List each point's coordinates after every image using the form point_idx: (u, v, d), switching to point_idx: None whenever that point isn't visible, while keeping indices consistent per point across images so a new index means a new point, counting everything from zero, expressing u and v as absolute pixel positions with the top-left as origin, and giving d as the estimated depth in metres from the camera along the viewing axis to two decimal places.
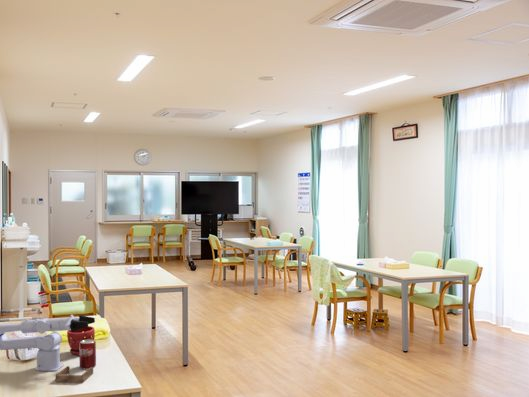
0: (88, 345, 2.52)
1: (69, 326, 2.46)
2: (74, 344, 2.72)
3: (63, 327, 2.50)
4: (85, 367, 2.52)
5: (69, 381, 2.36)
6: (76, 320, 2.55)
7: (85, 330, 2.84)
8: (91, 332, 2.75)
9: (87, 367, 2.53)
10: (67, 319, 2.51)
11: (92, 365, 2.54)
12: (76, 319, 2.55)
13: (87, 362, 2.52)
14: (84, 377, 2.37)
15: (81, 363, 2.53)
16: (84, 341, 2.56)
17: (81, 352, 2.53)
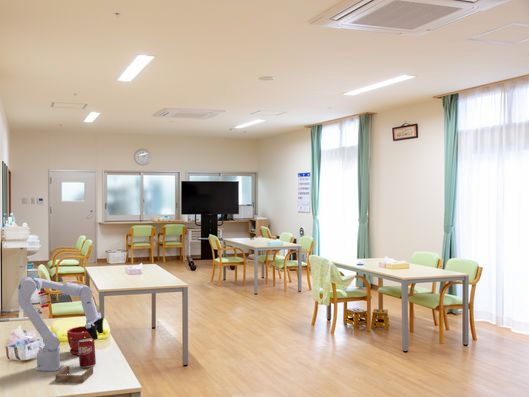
0: (87, 343, 2.53)
1: (89, 327, 2.56)
2: (74, 344, 2.72)
3: (87, 315, 2.60)
4: (85, 365, 2.52)
5: (69, 381, 2.36)
6: None
7: (85, 330, 2.84)
8: None
9: (87, 365, 2.53)
10: (95, 316, 2.61)
11: (92, 363, 2.54)
12: None
13: (86, 360, 2.53)
14: (84, 377, 2.37)
15: (81, 362, 2.53)
16: (83, 340, 2.57)
17: (80, 350, 2.53)
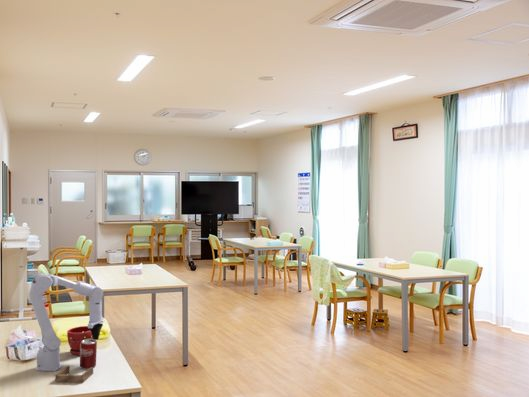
0: (88, 346, 2.51)
1: (90, 328, 2.59)
2: (74, 344, 2.72)
3: (91, 315, 2.63)
4: (84, 367, 2.52)
5: (69, 381, 2.36)
6: None
7: (85, 330, 2.84)
8: None
9: (86, 367, 2.52)
10: (99, 318, 2.64)
11: (91, 365, 2.53)
12: None
13: (86, 362, 2.52)
14: (84, 377, 2.37)
15: (81, 362, 2.53)
16: (85, 340, 2.55)
17: (81, 352, 2.52)
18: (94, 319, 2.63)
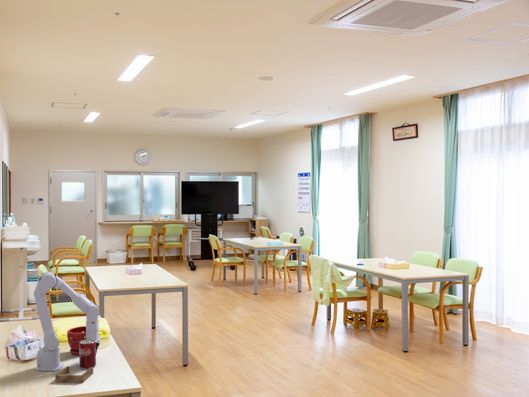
0: (85, 345, 2.52)
1: None
2: (74, 344, 2.72)
3: (88, 335, 2.59)
4: (83, 367, 2.52)
5: (69, 381, 2.36)
6: None
7: (85, 330, 2.84)
8: None
9: (84, 367, 2.52)
10: (96, 338, 2.60)
11: (90, 366, 2.53)
12: None
13: (84, 362, 2.52)
14: (84, 377, 2.37)
15: (80, 362, 2.54)
16: (84, 341, 2.56)
17: (79, 352, 2.53)
18: (91, 338, 2.59)
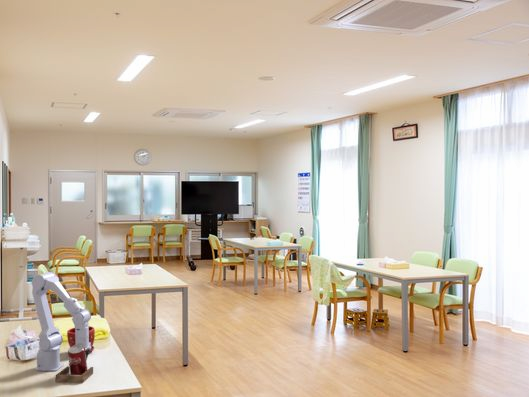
0: (74, 355, 2.39)
1: None
2: (74, 344, 2.72)
3: (77, 342, 2.47)
4: None
5: (69, 381, 2.36)
6: None
7: None
8: (91, 332, 2.75)
9: None
10: (86, 345, 2.48)
11: (81, 373, 2.43)
12: None
13: (75, 370, 2.41)
14: (84, 377, 2.37)
15: (70, 370, 2.43)
16: (73, 348, 2.43)
17: (69, 360, 2.41)
18: None
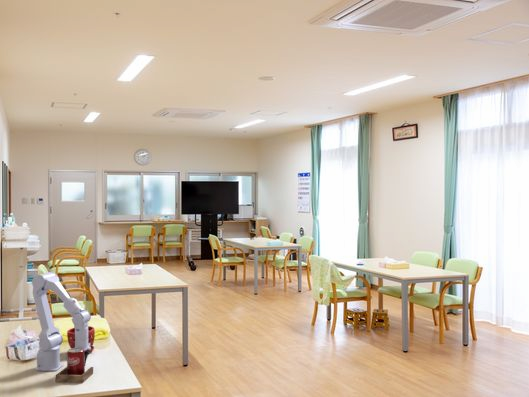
0: (74, 354, 2.39)
1: None
2: (74, 344, 2.72)
3: (77, 342, 2.46)
4: None
5: (69, 381, 2.36)
6: None
7: None
8: (91, 332, 2.75)
9: None
10: (85, 346, 2.47)
11: None
12: None
13: (72, 371, 2.39)
14: (84, 377, 2.37)
15: (68, 372, 2.41)
16: (73, 349, 2.43)
17: (67, 361, 2.40)
18: (80, 346, 2.46)
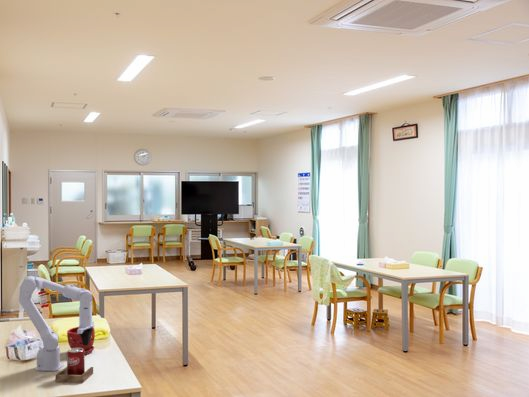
0: (74, 354, 2.39)
1: None
2: (74, 344, 2.72)
3: (81, 320, 2.56)
4: None
5: (69, 381, 2.36)
6: None
7: None
8: None
9: None
10: (89, 323, 2.57)
11: None
12: None
13: (72, 371, 2.39)
14: (84, 377, 2.37)
15: (68, 372, 2.41)
16: (73, 349, 2.43)
17: (67, 361, 2.40)
18: (84, 324, 2.56)
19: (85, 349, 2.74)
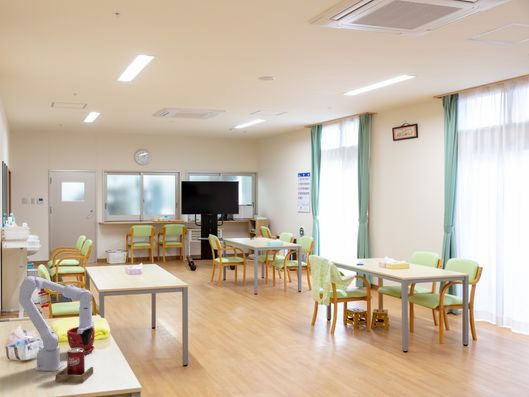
0: (74, 354, 2.39)
1: None
2: (74, 344, 2.72)
3: (81, 320, 2.56)
4: None
5: (69, 381, 2.36)
6: None
7: None
8: None
9: None
10: (89, 323, 2.57)
11: None
12: None
13: (73, 371, 2.39)
14: (84, 377, 2.37)
15: (68, 372, 2.41)
16: (73, 349, 2.43)
17: (67, 361, 2.40)
18: (84, 324, 2.56)
19: (85, 349, 2.74)
